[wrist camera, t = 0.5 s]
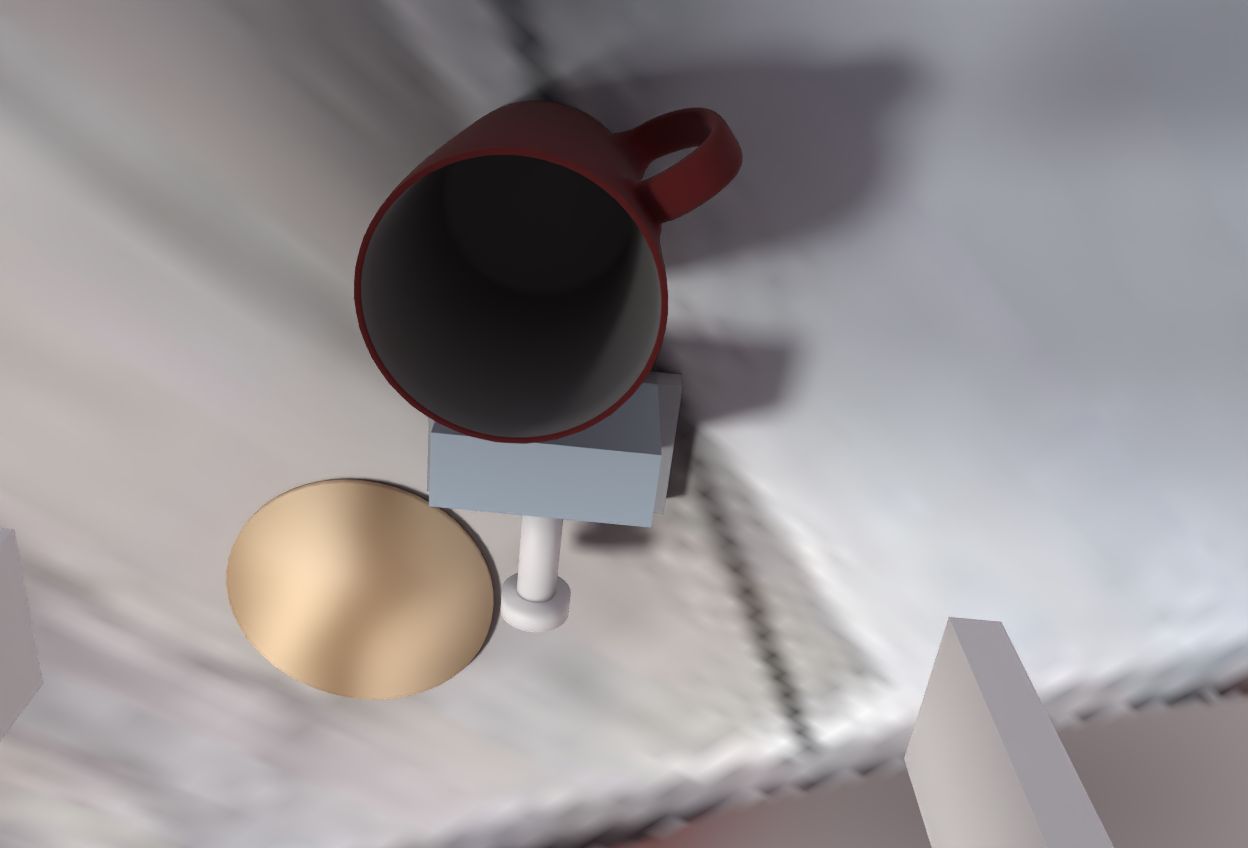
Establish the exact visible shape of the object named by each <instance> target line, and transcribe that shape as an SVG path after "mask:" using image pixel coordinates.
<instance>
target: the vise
mask: <svg viewBox="0 0 1248 848" xmlns="http://www.w3.org/2000/svg"><path fill="white" fill-rule="evenodd" d="M682 388H683V385H682V376H681V374H674V373H664V372H654V371H650V372H649V374H648V375H647V377H646V378H645V380H644V381H643V383H642V384H641V385H640V387H639V388H638V389H637V390H636V392H635V393H634V394H633V395H632V396H631V397H630V398H629V399H628V400H627V401H626V402H625V403H624V404H623V405H622V406H621V407H620V408H618V409H617V410H616V411H615V412H614V413H612V414H611V415H610V416H608V417H607V418H605V419H603V420H602V421H600V422H598V423H597V424H595V425H593V426H591V427H589V428H587V429H586V430H583V431H580V432H578V433H575V434H572V435H569V436H566V437H563V438H560V439H557V440H550V441H544V442H537V443H528V444H520V443H500V442H493V441H488V440H483V439H479V438H475V437H471V436H467V435H464V434H462V433H459V432H457V431H454V430H452V429H450V428H448V427H445V426H443V425H441V424H439V423H437V422H435V421H434V420H432V419H431V418H429V435H428V472H427V491H429V506H431V507H441V508H452V509H462V510H473V511H483V512H493V513H504V514H514V515H522V528H521V541H520V554H519V567H518V573H516V574H514V575H512V576H510V577H509V578H508V579H507V580H506V581H505V582H504V584H503V586H502V596H501V614H502V617H503V618H504V620H505V621H506V622H507V623H509V624H510V625H511V626H513V627H515V628H517V629H520V630H524V631H529V632H545V631H550V630H553V629H555V628H557V627H559V626H561V625H562V624H563V623H564V622H565V621H566V619H567V617H568V612H569V603H570V588H569V586H568V584H567V583H566V582H565V581H564V580H563V579H562V578H560V577H559V576H558V566H559V556H560V545H561V535H562V525H563V519H566V520H577V521H587V522H598V523H608V524H619V525H629V526H640V527H650V528H651V525H652V518H653V513H657V514H664V508H665V501H666V494H667V488H668V481H669V475H670V468H671V461H672V455H673V448H674V441H675V435H676V428H677V421H678V415H679V408H680V401H681V395H682Z"/></svg>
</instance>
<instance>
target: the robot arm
mask: <svg viewBox="0 0 1248 848" xmlns="http://www.w3.org/2000/svg"><path fill="white" fill-rule="evenodd" d="M42 684H43V678H42V672H41V667H40V662H39V657H38V651H37V646H36V641H35V636H34V630H33V625H32V620H31V615H30V610H29V604H28V599H27V594H26V589H25V583H24V578H23V573H22V568H21V562H20V557H19V552H18V547H17V541H16V536H15V531H14V529H8V528H0V741H1V740H2V738H3V737H4V736H5V734H6V733H7V732H8V730H9V729H10V728H11V726H12V725H13V723H14V722H15V721H16V719H17V718H18V717H19V715H20V714H21V713H22V711H23V710H24V709H25V707H26V706H27V705H28V703H29V702H30V701H31V699H32V698H33V696H34V695H35V694H36V692H37V691H38V690H39V688H40V687H41V686H42ZM904 760H905V763H906V766H907V769H908V772H909V776H910V779H911V782H912V785H913V789H914V791H915V795H916V798H917V801H918V805H919V808H920V811H921V814H922V818H923V821H924V824H925V827H926V831H927V834H928V837H929V840H930V844H931V847H932V848H1114V847H1113V845H1112V843H1111V841H1110V839H1109V837H1108V835H1107V833H1106V831H1105V829H1104V827H1103V825H1102V823H1101V821H1100V819H1099V817H1098V815H1097V813H1096V811H1095V809H1094V807H1093V805H1092V803H1091V801H1090V799H1089V797H1088V795H1087V793H1086V791H1085V789H1084V787H1083V785H1082V783H1081V781H1080V779H1079V777H1078V775H1077V773H1076V771H1075V769H1074V767H1073V765H1072V763H1071V761H1070V759H1069V757H1068V755H1067V753H1066V751H1065V749H1064V747H1063V745H1062V743H1061V741H1060V739H1059V737H1058V735H1057V733H1056V731H1055V729H1054V727H1053V725H1052V723H1051V721H1050V719H1049V717H1048V715H1047V713H1046V711H1045V709H1044V707H1043V705H1042V703H1041V701H1040V699H1039V697H1038V695H1037V693H1036V691H1035V689H1034V687H1033V685H1032V683H1031V681H1030V679H1029V677H1028V675H1027V673H1026V671H1025V669H1024V667H1023V664H1022V662H1021V660H1020V658H1019V656H1018V654H1017V652H1016V650H1015V648H1014V646H1013V644H1012V642H1011V640H1010V638H1009V636H1008V634H1007V632H1006V630H1005V628H1004V626H1003V624H1002V622H996V621H986V620H975V619H965V618H954V617H949V618H948V621H947V625H946V628H945V631H944V634H943V637H942V640H941V644H940V647H939V650H938V653H937V656H936V660H935V663H934V666H933V669H932V672H931V675H930V679H929V682H928V685H927V688H926V691H925V694H924V698H923V701H922V704H921V707H920V710H919V714H918V717H917V720H916V723H915V726H914V729H913V733H912V736H911V739H910V742H909V745H908V749H907V752H906V755H905V758H904Z"/></svg>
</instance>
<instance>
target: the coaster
mask: <svg viewBox="0 0 1248 848" xmlns="http://www.w3.org/2000/svg"><path fill="white" fill-rule="evenodd" d="M227 591H228V597H229V602H230V605H231V608H232V611H233V614H234V616H235V618H236V620H237V622H238V624H239V626H240V628H241V630H242V631H243V633H244V634H245V636H246V637H247V639H248V640H249V641H250V642H251V643H252V645H253V646H254V647H255V648H256V649H257V650H258V652H259V653H261V654H262V655H263V656H264V657H265V658H266V659H267V660H268V661H269V662H270V663H272V664H273V665H274V666H276V667H277V668H278V669H280V670H281V671H283V672H284V673H286V674H287V675H289V676H291V677H293V678H294V679H296V680H298V681H300V682H302V683H304V684H307V685H309V686H311V687H313V688H316V689H319V690H322V691H325V692H328V693H332V694H336V695H340V696H344V697H351V698H359V699H393V698H399V697H405V696H410V695H414V694H417V693H421V692H424V691H427V690H429V689H432V688H434V687H436V686H439V685H440V684H442V683H444V682H446V681H447V680H449V679H451V678H452V677H454V676H455V675H456V674H458V673H459V672H460V671H461V670H463V669H464V668H465V667H466V666H467V665H468V664H469V663H470V662H471V661H472V659H473V658H474V657H475V655H476V654H477V653H478V651H479V650H480V648H481V646H482V645H483V643H484V641H485V639H486V637H487V634H488V631H489V627H490V624H491V620H492V613H493V606H494V591H493V585H492V580H491V575H490V572H489V569H488V567H487V564H486V561H485V559H484V557H483V556H482V554H481V552H480V550H479V548H478V547H477V545H476V544H475V542H474V541H473V539H472V538H471V537H470V535H469V534H468V533H467V532H466V531H465V530H464V529H463V528H462V527H461V526H460V524H459V523H457V522H456V521H455V520H454V519H453V518H452V517H450V516H449V515H448V514H447V513H446V512H444V511H443V510H441V509H440V508H438V507H431V506H429V501H427V500H425V499H423V498H421V497H419V496H417V495H415V494H413V493H410V492H408V491H405V490H403V489H400V488H397V487H394V486H390V485H386V484H382V483H378V482H371V481H364V480H347V479H341V480H328V481H321V482H316V483H311V484H307V485H304V486H301V487H298V488H295V489H292V490H290V491H288V492H285V493H283V494H281V495H279V496H277V497H276V498H274V499H273V500H271V501H270V502H268V503H267V504H265V505H264V506H263V507H262V508H261V509H259V510H258V511H257V512H256V513H255V514H254V515H253V516H252V517H251V518H250V520H249V521H248V522H247V524H246V525H245V526H244V527H243V529H242V531H241V532H240V534H239V536H238V538H237V540H236V541H235V543H234V545H233V548H232V551H231V554H230V557H229V561H228V567H227Z"/></svg>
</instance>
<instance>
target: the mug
mask: <svg viewBox="0 0 1248 848" xmlns="http://www.w3.org/2000/svg"><path fill="white" fill-rule="evenodd" d="M695 146H699V147H698V148H697V149H695V150H694V151H693V152H692V153H690V154H689V155H688V156H686V157H685V158H684V159H682V160H681V161H679V162H678V163H676V164H675V165H673V166H671V167H670V168H668V169H666V170H665V171H663V172H661V173H659V174H658V175H656V176H654V177H652V178H649V179H647V180H644V181H642V177H643V174H644V172H645V170H646V168H647V167H648V165H649V164H650V163H651V162H652V161H654V160H655V159H657V158H659V157H661V156H664V155H667V154H669V153H672V152H675V151H678V150H682V149H685V148H690V147H695ZM741 164H742V152H741V148H740V146H739V143H738V142H737V140H736V138H735V136H734V135H733V133H732V131H731V130H730V128H729V126H728V125H727V123H726V122H725V121H724V119H723V118H722V117H721V116H720V115H719V114H717V113H716V112H714V111H712V110H709V109H705V108H687V109H681V110H677V111H673V112H670V113H667V114H664V115H661V116H658V117H656V118H654V119H651V120H649V121H647V122H645V123H643V124H642V125H640V126H638V127H636V128H634V129H632V130H628V131H625V132H621V133H616V134H612V133H611V132H610V131H609V130H608V129H607V128H605V127H604V126H603V125H602V124H601V123H600V122H598V121H597V120H596V119H594V118H593V117H591V116H589V115H588V114H586V113H584V112H582V111H580V110H578V109H576V108H573V107H570V106H567V105H564V104H560V103H555V102H548V101H526V102H519V103H514V104H510V105H507V106H504V107H501V108H499V109H497V110H495V111H493V112H491V113H489V114H487V115H485V116H484V117H482V118H481V119H479V120H477V121H476V122H475V123H473V124H472V125H470V126H469V127H467V128H466V129H465V130H463V131H462V132H461V133H459V134H458V135H456V136H455V137H454V138H452V139H451V140H450V141H448V142H447V143H446V144H444V145H443V146H442V147H441V148H439V149H438V150H437V151H435V152H434V153H433V154H432V155H430V156H429V157H428V158H427V159H425V160H424V161H423V162H422V163H421V164H420V165H418V166H417V167H416V168H415V169H414V170H413V171H412V172H411V173H410V174H409V175H408V176H407V177H406V178H405V179H404V180H403V181H402V182H401V183H400V184H399V185H398V186H397V187H396V188H395V190H394V191H393V192H392V193H391V194H390V196H389V197H388V198H387V199H386V201H385V202H384V203H383V204H382V206H381V207H380V209H379V210H378V212H377V213H376V215H375V217H374V218H373V220H372V221H371V223H370V225H369V227H368V229H367V231H366V234H365V236H364V238H363V241H362V244H361V247H360V250H359V254H358V258H357V263H356V267H355V279H354V300H355V307H356V314H357V318H358V323H359V327H360V331H361V333H362V336H363V338H364V341H365V344H366V346H367V348H368V350H369V353H370V355H371V357H372V359H373V360H374V362H375V363H376V365H377V367H378V368H379V370H380V371H381V373H382V374H383V375H384V377H385V378H386V380H387V381H388V382H389V384H390V385H391V386H392V387H393V388H394V389H395V390H396V391H397V392H398V393H399V394H400V395H401V396H402V397H403V398H404V399H405V400H406V401H407V402H408V403H409V404H411V405H412V406H413V407H415V408H416V409H417V410H419V411H420V412H422V413H423V414H424V415H426V416H428V417H429V418H431V419H432V420H434V421H435V422H437V423H439V424H441V425H443V426H445V427H448V428H450V429H452V430H454V431H457V432H459V433H462V434H464V435H467V436H471V437H475V438H479V439H483V440H488V441H493V442H500V443H520V444H528V443H537V442H544V441H550V440H557V439H560V438H563V437H566V436H569V435H572V434H575V433H578V432H580V431H583V430H586V429H587V428H589V427H591V426H593V425H595V424H597V423H598V422H600V421H602V420H603V419H605V418H607V417H608V416H610V415H611V414H612V413H614V412H615V411H616V410H617V409H618V408H620V407H621V406H622V405H623V404H624V403H625V402H626V401H627V400H628V399H629V398H630V397H631V396H632V395H633V394H634V393H635V392H636V390H637V389H638V388H639V387H640V385H641V384H642V383H643V381H644V380H645V378H646V377H647V375H648V374H649V372H650V371H651V369H652V366H653V364H654V362H655V360H656V358H657V356H658V353H659V351H660V348H661V345H662V342H663V338H664V334H665V329H666V323H667V316H668V290H667V279H666V272H665V266H664V261H663V257H662V252H661V246H660V233H661V224H662V223H664V222H667V221H671V220H673V219H676V218H678V217H680V216H682V215H684V214H686V213H688V212H690V211H692V210H693V209H695V208H697V207H698V206H700V205H702V204H703V203H705V202H706V201H708V200H709V199H711V198H712V197H713V196H715V195H716V194H717V193H718V192H720V191H721V190H722V189H723V188H724V187H726V186H727V185H728V184H729V183H730V182H731V180H732V179H733V178H734V177H735V176H736V174H737V173H738V171H739V169H740V167H741Z"/></svg>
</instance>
